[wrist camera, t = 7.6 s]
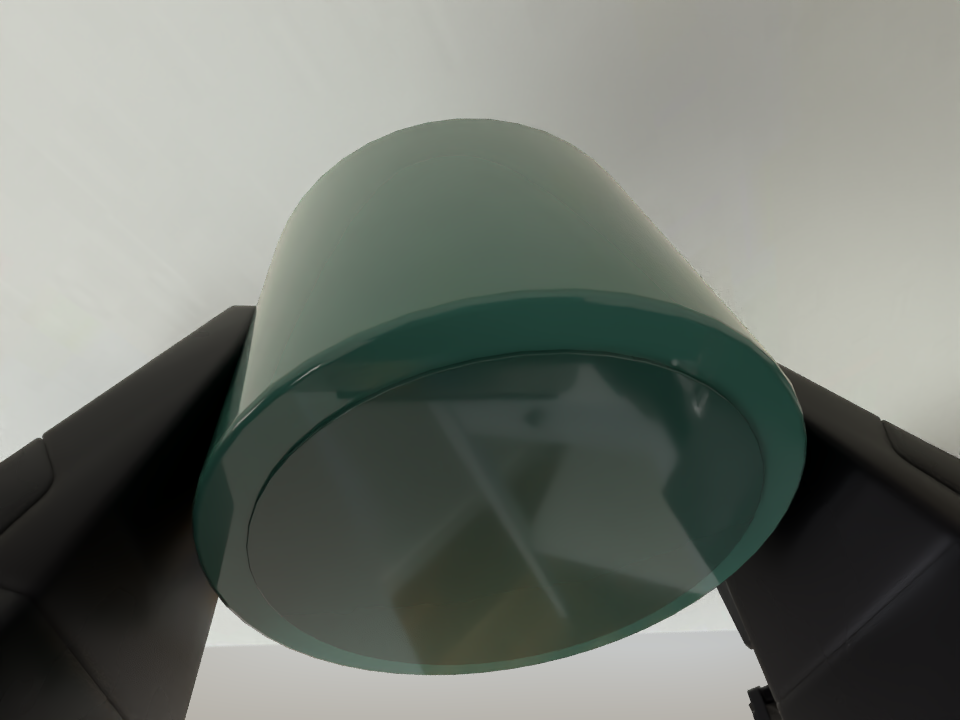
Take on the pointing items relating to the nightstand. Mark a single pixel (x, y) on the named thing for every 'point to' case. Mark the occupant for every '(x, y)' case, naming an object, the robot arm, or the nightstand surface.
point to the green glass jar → (485, 416)
